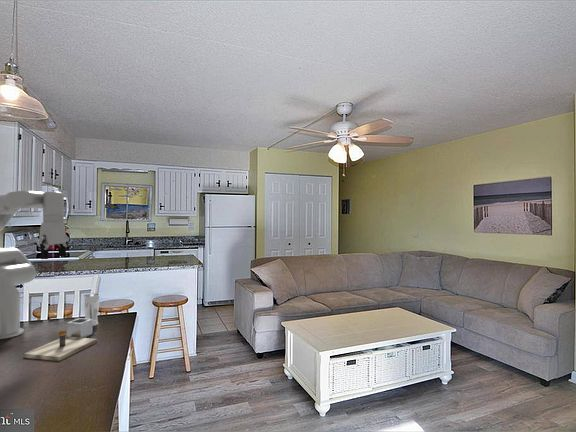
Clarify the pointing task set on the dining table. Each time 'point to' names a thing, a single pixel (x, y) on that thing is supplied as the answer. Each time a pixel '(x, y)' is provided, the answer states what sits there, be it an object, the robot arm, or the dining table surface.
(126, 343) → the dining table surface
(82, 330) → the white open box
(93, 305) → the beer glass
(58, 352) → the board
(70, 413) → the dining table surface
